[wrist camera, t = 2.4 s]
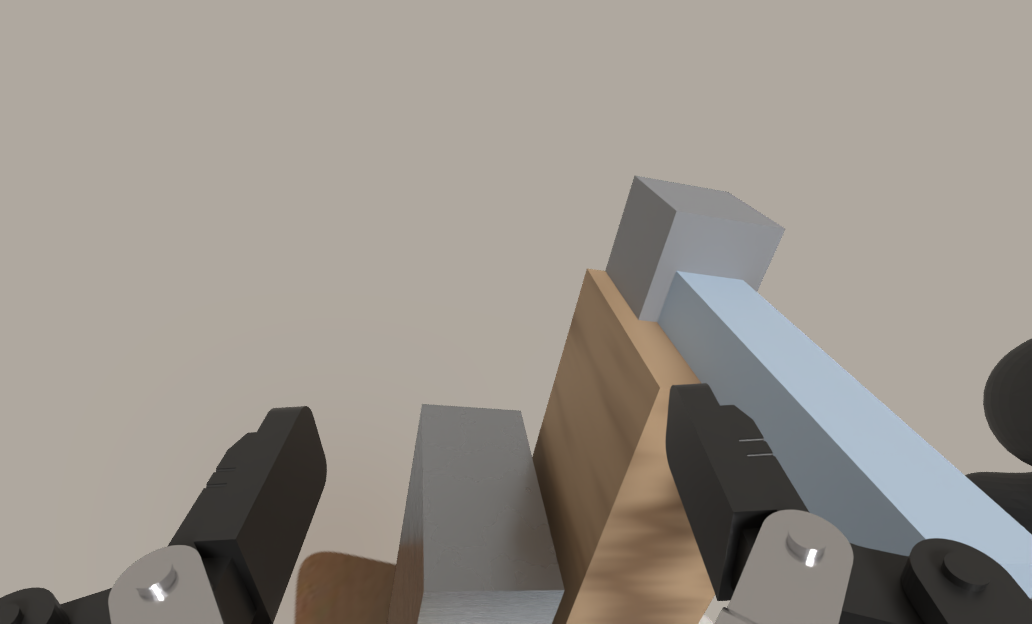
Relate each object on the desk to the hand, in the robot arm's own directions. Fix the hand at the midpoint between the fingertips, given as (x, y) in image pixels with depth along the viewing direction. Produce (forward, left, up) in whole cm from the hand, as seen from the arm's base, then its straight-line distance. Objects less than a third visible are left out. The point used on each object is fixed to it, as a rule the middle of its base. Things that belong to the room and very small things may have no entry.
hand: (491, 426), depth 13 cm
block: (-11, -6, -2) cm, 12 cm away
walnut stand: (-11, -10, -34) cm, 37 cm away
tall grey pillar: (-3, -11, -34) cm, 36 cm away
